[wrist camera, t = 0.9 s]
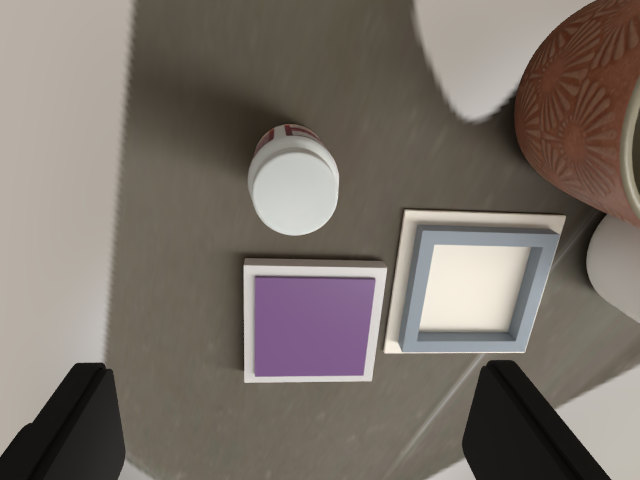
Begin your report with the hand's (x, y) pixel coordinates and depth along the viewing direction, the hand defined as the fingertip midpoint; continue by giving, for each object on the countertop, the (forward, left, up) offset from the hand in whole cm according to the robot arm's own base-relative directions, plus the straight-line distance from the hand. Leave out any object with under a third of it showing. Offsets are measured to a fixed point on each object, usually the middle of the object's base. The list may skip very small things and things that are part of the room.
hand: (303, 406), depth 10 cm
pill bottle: (-3, 0, -18) cm, 19 cm away
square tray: (+6, +14, -18) cm, 24 cm away
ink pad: (+9, +2, -18) cm, 21 cm away
